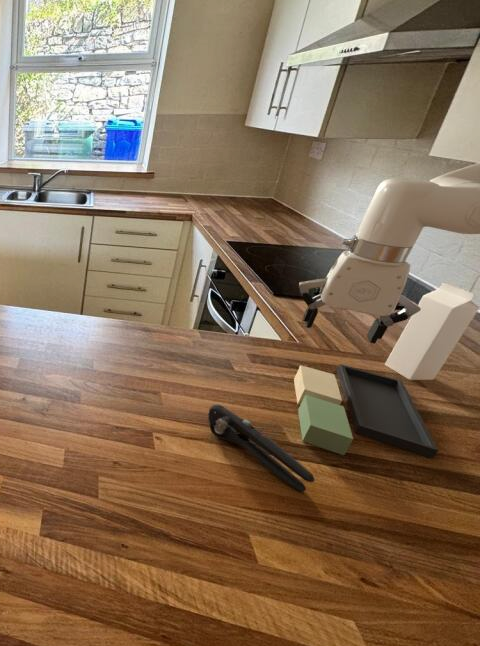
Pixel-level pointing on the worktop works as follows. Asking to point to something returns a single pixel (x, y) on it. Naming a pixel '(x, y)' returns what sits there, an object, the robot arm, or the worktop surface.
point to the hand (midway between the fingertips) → (338, 332)
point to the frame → (384, 411)
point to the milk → (432, 333)
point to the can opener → (240, 433)
